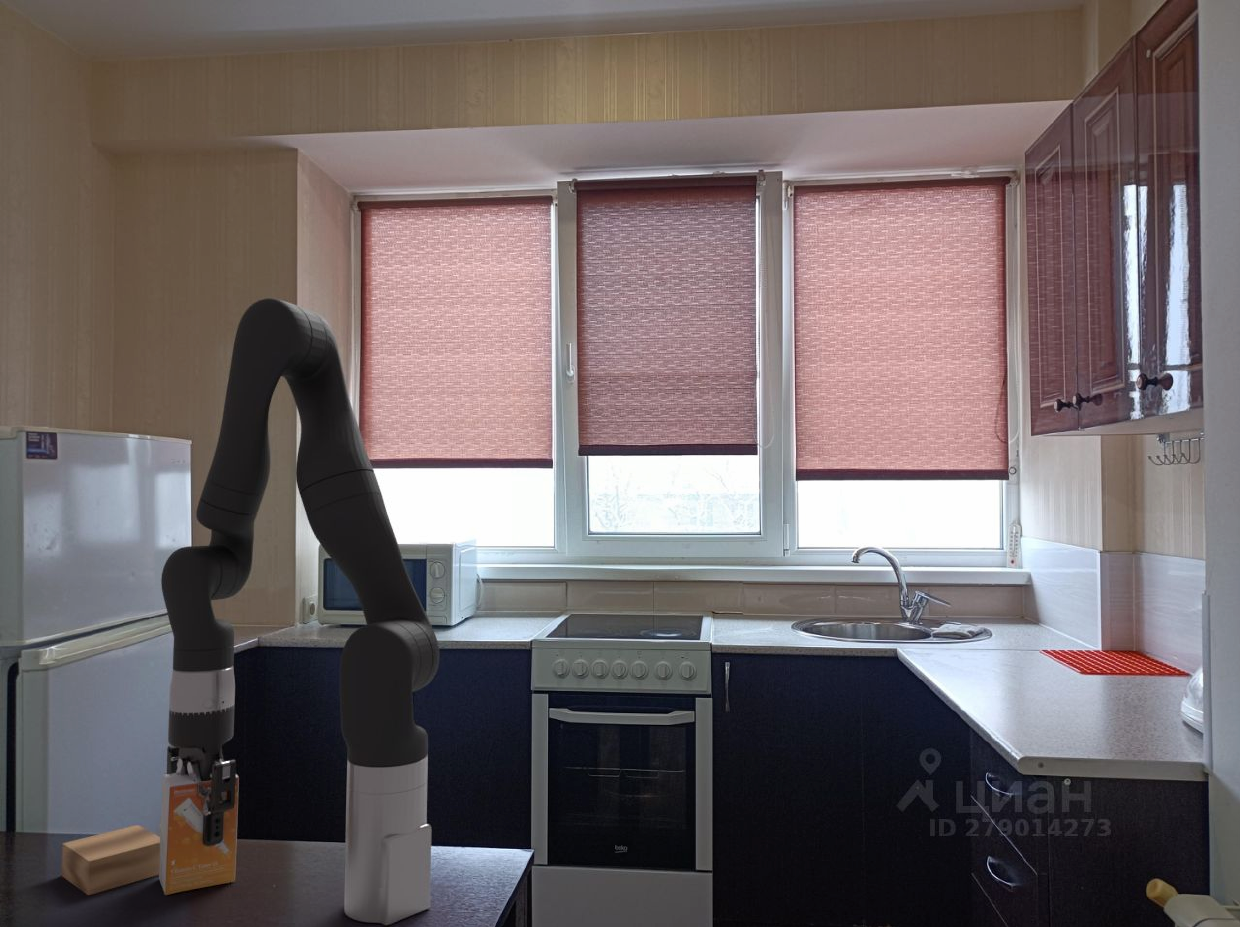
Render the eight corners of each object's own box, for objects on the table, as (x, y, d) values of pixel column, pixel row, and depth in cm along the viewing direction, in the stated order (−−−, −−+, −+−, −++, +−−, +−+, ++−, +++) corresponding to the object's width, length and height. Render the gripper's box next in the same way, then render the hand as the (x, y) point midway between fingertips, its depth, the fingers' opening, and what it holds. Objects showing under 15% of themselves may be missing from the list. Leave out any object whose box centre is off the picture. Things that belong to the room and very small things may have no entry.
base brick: (165, 872, 114) (166, 840, 114) (88, 895, 107) (89, 861, 108) (136, 855, 120) (137, 824, 120) (61, 875, 113) (62, 843, 113)
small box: (164, 897, 107) (168, 786, 108) (157, 879, 112) (161, 773, 113) (236, 882, 111) (239, 775, 112) (227, 865, 117) (230, 763, 117)
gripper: (259, 707, 111) (255, 842, 110) (205, 691, 120) (201, 816, 120) (198, 717, 105) (193, 860, 105) (147, 700, 115) (142, 831, 114)
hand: (198, 836), depth 112 cm, fingers closed on small box, 7 cm apart
